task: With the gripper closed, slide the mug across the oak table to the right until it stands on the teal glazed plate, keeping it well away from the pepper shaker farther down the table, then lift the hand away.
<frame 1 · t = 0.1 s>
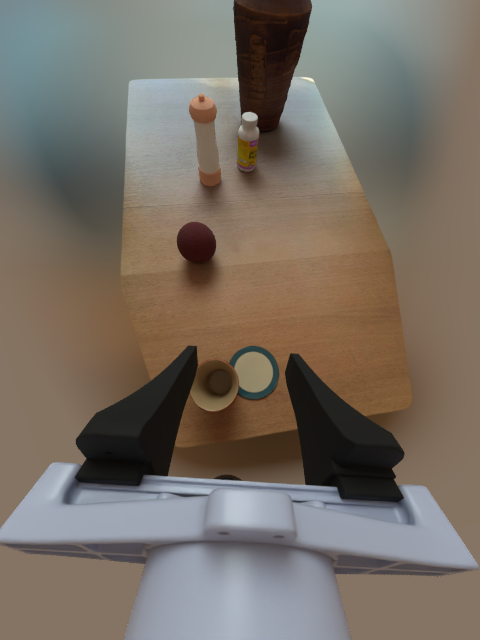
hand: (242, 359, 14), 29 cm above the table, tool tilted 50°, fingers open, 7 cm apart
pepper shaker: (210, 179, 61), on the table
plate: (253, 371, 42), on the table
mug: (214, 381, 41), on the table, touching plate
supplement bottle: (246, 167, 64), on the table
decorative ball: (200, 256, 51), on the table
vase: (260, 122, 73), on the table
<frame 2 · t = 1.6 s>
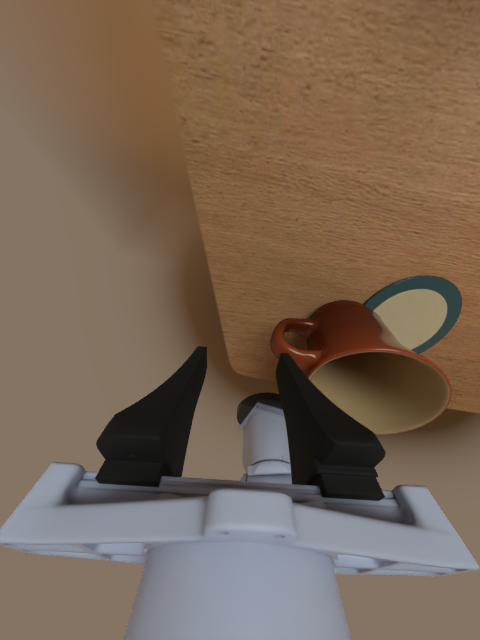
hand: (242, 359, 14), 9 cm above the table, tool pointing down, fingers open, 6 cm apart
plate: (400, 323, 22), on the table
mug: (325, 318, 21), on the table, touching gripper
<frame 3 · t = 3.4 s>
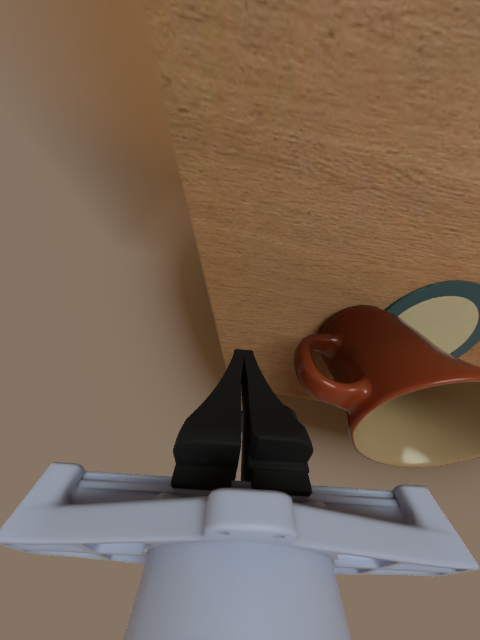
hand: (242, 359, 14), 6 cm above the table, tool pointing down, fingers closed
plate: (422, 334, 19), on the table
mug: (336, 326, 19), on the table, touching plate
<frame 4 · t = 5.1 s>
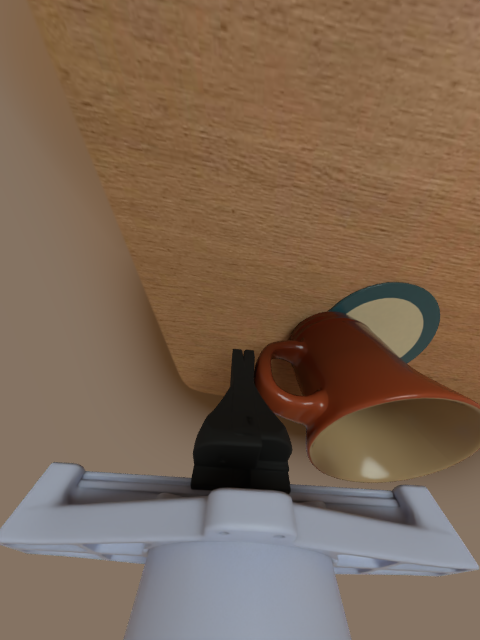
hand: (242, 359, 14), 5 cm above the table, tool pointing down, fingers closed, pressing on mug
plate: (370, 337, 19), on the table
mug: (307, 332, 18), on the table, touching gripper, plate
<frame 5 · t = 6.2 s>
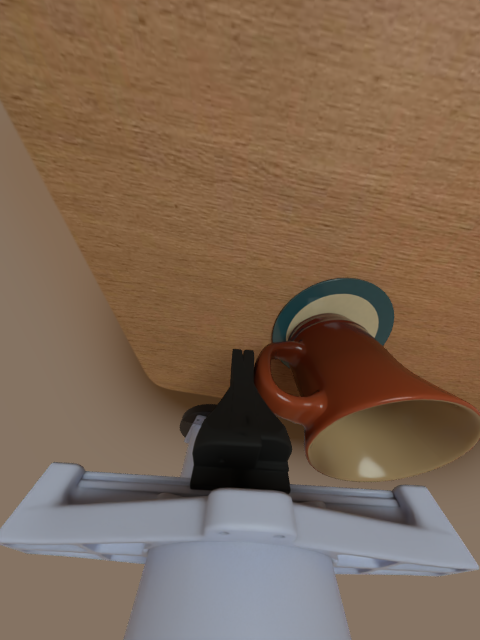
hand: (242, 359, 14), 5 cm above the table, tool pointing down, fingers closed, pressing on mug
plate: (329, 333, 19), on the table
mug: (304, 333, 18), on the table, touching gripper, plate
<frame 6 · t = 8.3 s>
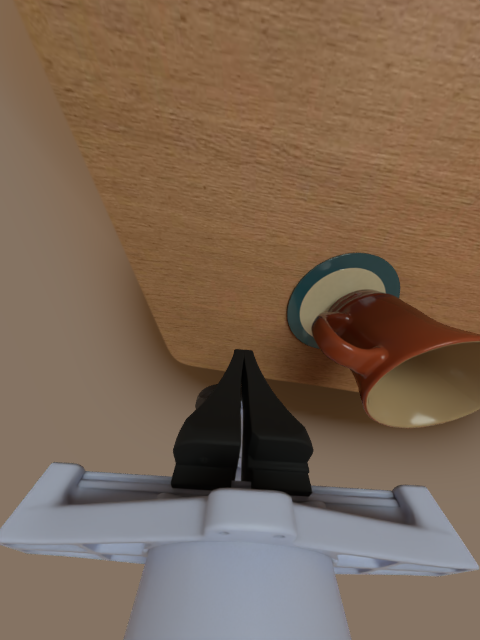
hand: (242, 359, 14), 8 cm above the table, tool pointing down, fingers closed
plate: (339, 307, 20), on the table
mug: (340, 310, 20), resting on plate
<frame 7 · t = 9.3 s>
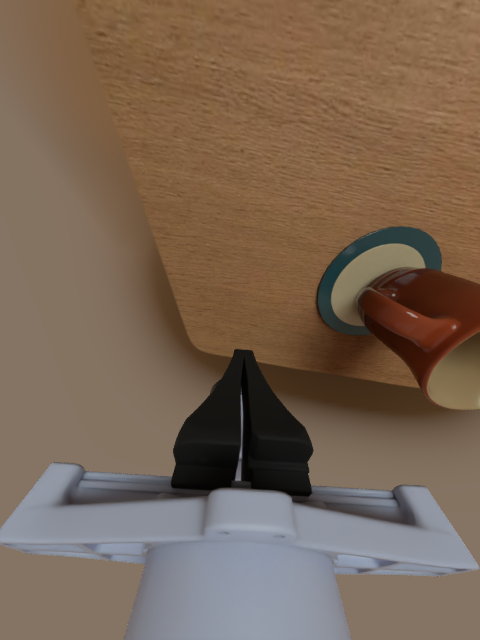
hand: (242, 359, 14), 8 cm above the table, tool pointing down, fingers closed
plate: (374, 288, 19), on the table
mug: (374, 291, 19), resting on plate
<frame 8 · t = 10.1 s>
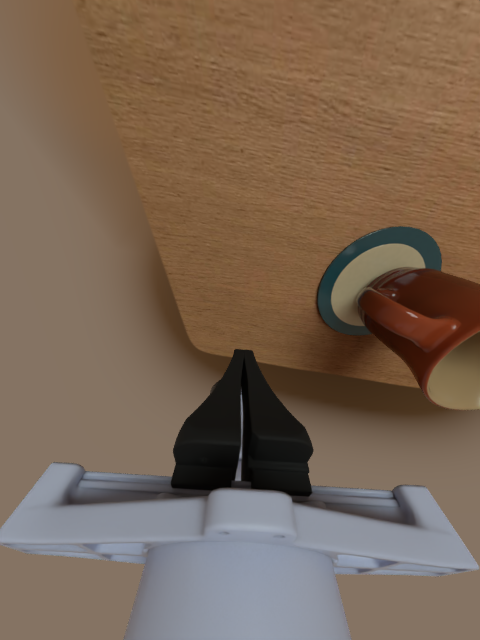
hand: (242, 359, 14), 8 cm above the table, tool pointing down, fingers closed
plate: (374, 288, 19), on the table
mug: (374, 291, 19), resting on plate
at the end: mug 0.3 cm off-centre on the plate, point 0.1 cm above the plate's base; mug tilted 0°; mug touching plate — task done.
